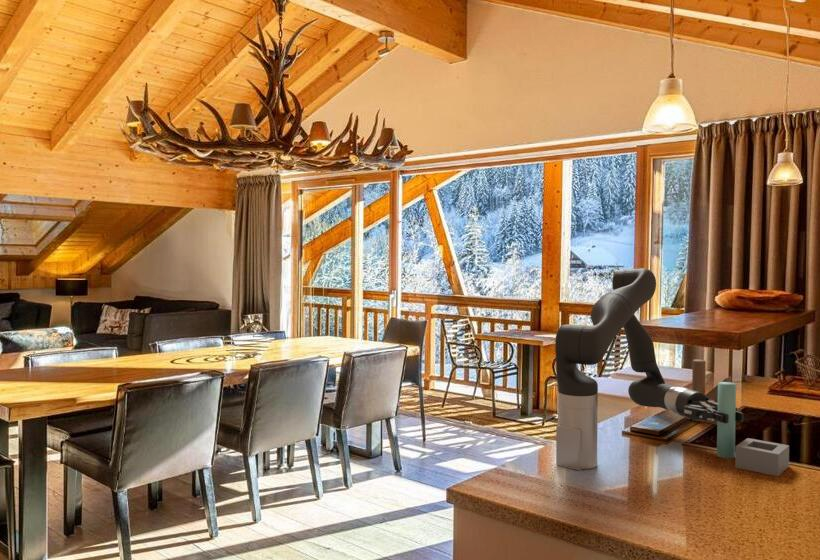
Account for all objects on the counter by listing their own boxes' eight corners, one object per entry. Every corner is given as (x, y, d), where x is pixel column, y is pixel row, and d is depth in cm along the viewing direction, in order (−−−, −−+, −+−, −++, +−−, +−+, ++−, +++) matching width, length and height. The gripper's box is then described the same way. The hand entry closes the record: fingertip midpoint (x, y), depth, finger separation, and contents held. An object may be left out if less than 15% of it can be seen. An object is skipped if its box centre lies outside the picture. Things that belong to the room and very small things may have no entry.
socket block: (778, 476, 146) (778, 454, 146) (735, 467, 152) (735, 446, 152) (788, 466, 153) (789, 445, 152) (747, 458, 159) (747, 438, 159)
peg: (731, 459, 158) (732, 386, 157) (714, 455, 161) (715, 383, 160) (736, 455, 161) (738, 383, 160) (719, 452, 164) (721, 381, 163)
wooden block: (725, 426, 187) (726, 364, 186) (688, 419, 195) (689, 360, 194) (731, 424, 189) (732, 363, 189) (694, 417, 197) (695, 358, 197)
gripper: (663, 390, 172) (711, 405, 155) (708, 387, 176) (759, 401, 159) (663, 418, 172) (710, 436, 156) (708, 414, 176) (758, 431, 160)
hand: (734, 418), depth 158 cm, fingers closed on peg, 4 cm apart
